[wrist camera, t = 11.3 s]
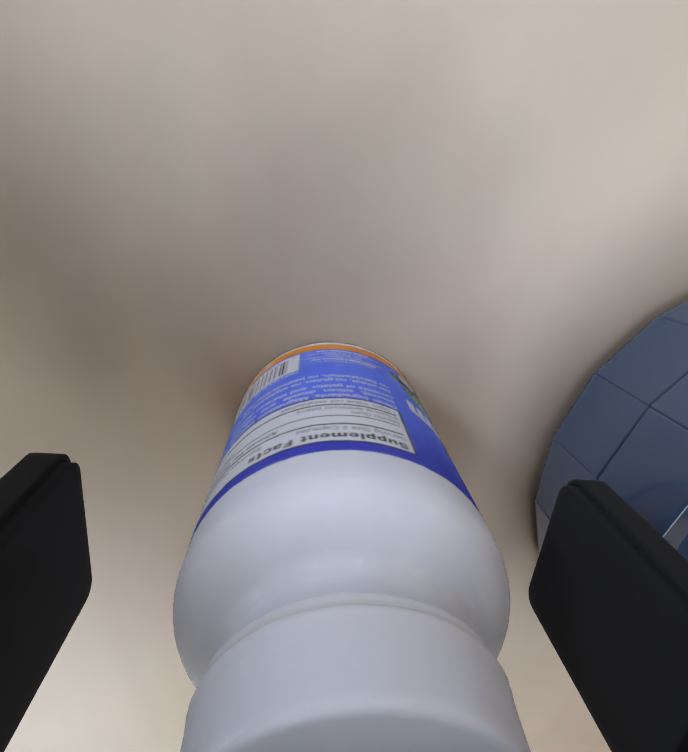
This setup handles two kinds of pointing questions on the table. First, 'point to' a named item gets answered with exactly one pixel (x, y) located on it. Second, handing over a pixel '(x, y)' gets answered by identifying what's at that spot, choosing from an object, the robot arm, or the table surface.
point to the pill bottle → (342, 576)
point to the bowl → (631, 431)
